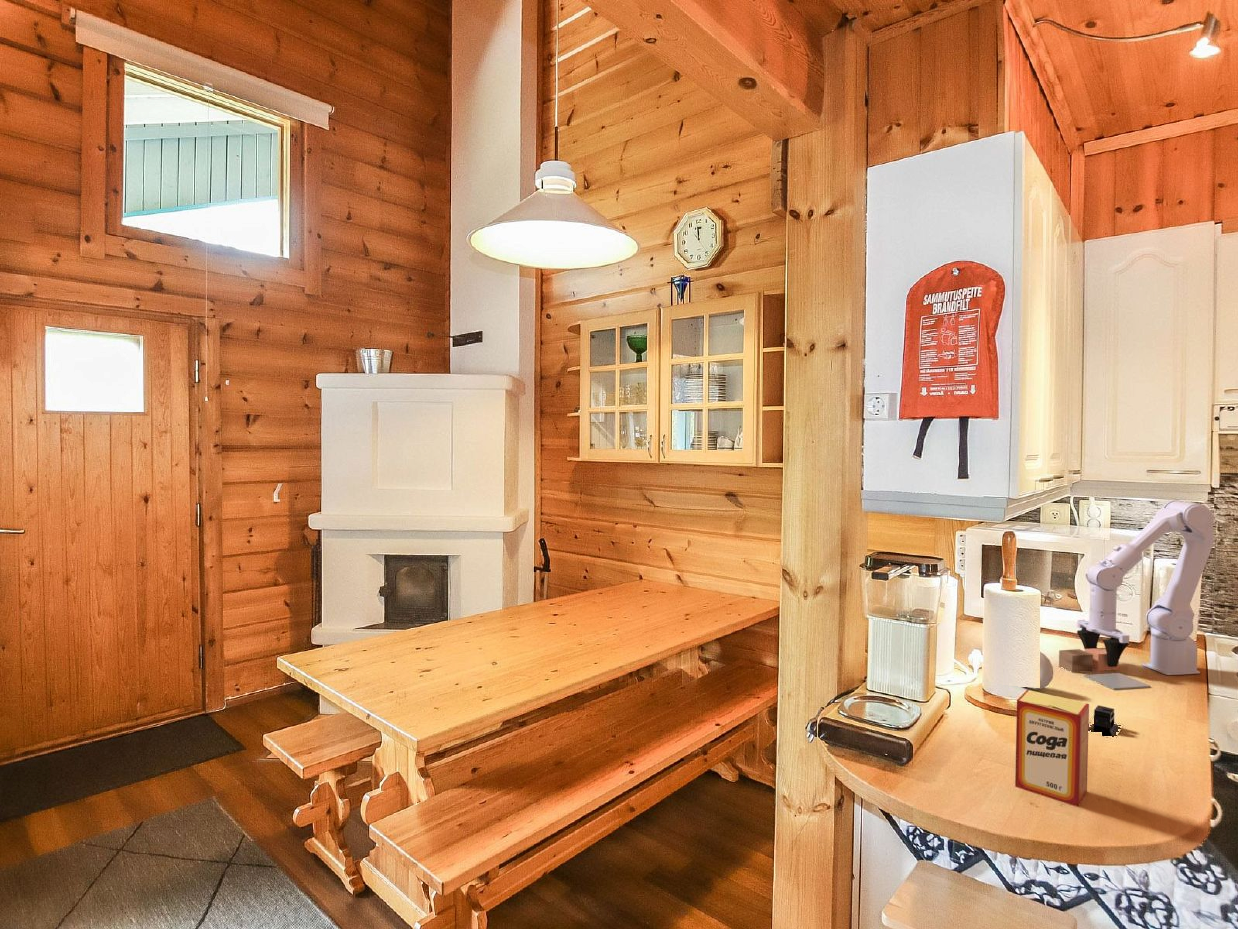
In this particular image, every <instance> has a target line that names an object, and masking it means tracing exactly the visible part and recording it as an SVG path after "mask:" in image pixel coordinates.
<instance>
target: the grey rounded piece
mask: <svg viewBox="0 0 1238 929" xmlns="http://www.w3.org/2000/svg"><path fill="white" fill-rule="evenodd" d="M1054 674H1055V673H1054V666H1053V665H1052V663H1051V661H1050V659H1049V658H1048V657H1047V655H1046V654H1045V653H1044V652H1041V651H1040V689H1044V688H1046V687H1047V686H1049V685H1050V683H1051V682H1052V680H1053V677H1054Z"/></svg>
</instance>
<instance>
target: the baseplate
mask: <svg viewBox="0 0 1238 929" xmlns="http://www.w3.org/2000/svg"><path fill="white" fill-rule="evenodd" d="M1083 678H1086V679H1088V678H1089V679H1088V680H1090V679H1091V681H1093V682H1095V681H1096V682H1095V683H1097V682H1098V684H1099V683H1100V685H1102V684H1103V685H1102V686H1104V685H1105V686H1104V687H1107V688H1109V689H1111V690H1114V691H1116V690H1133V689H1147V688H1148V689H1149V688H1151V685H1150V684H1146V683H1145V682H1142V681H1140V680H1137V679H1135V678H1132V677H1130V676H1128V675H1125V674H1124V673H1120V672H1115V673H1114V672H1112V673H1097V674H1084V675H1083Z"/></svg>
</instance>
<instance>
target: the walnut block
mask: <svg viewBox="0 0 1238 929" xmlns="http://www.w3.org/2000/svg"><path fill="white" fill-rule="evenodd" d="M1058 667H1059V668H1061V667H1063V668H1064V669H1063V668H1062V669H1063V670H1065V669H1066V671H1067V672H1070V671H1071V672H1070V673H1078V672H1077V671H1087V672H1093V671H1094V669H1093V654H1091V653H1088V652H1085V650H1083V649H1081V648H1077V649H1062V650H1059V651H1058Z"/></svg>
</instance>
